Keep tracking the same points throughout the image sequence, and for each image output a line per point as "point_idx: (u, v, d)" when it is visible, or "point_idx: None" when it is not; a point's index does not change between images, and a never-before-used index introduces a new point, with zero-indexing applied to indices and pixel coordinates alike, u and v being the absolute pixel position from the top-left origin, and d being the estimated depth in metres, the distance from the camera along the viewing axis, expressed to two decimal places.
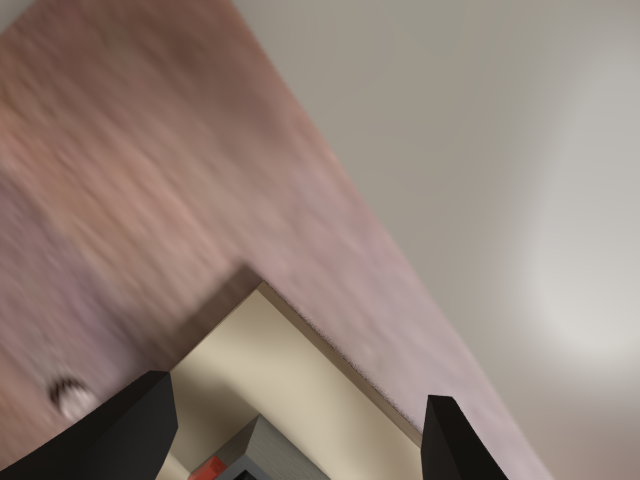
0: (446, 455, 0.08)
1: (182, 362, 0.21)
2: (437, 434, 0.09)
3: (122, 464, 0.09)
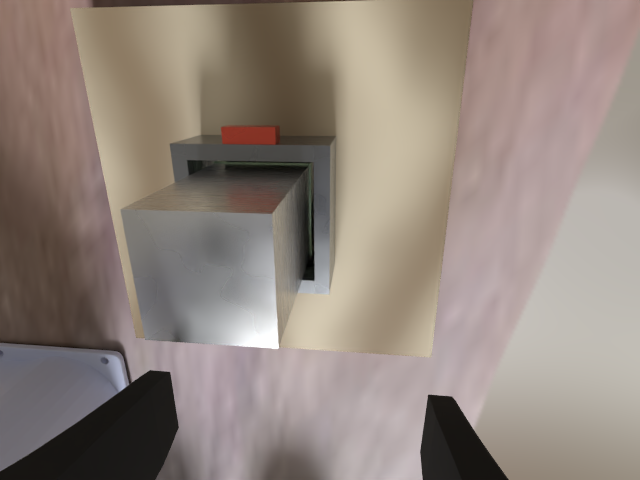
0: (446, 455, 0.08)
1: (311, 4, 0.15)
2: (437, 434, 0.09)
3: (122, 464, 0.09)
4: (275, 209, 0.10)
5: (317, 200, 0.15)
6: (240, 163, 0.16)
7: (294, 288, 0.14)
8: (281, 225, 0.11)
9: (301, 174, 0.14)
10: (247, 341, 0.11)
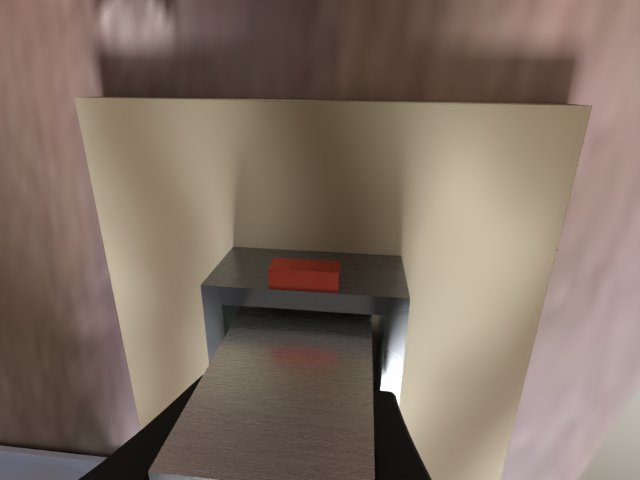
0: None
1: (381, 105, 0.12)
2: None
3: None
4: (374, 474, 0.07)
5: (388, 357, 0.12)
6: None
7: None
8: None
9: (370, 331, 0.11)
10: None
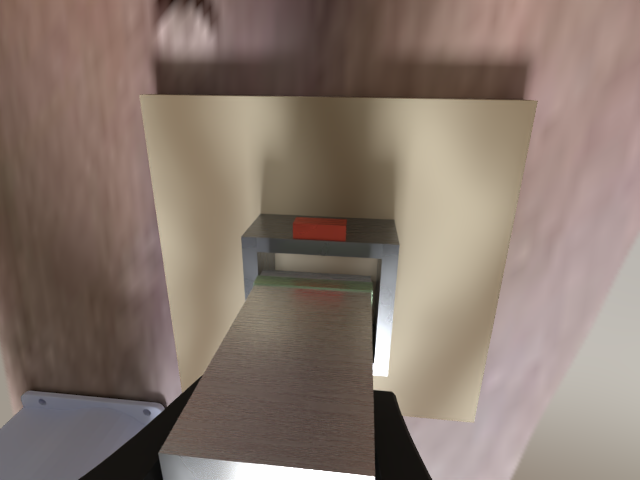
0: None
1: (378, 100, 0.16)
2: None
3: None
4: (374, 456, 0.07)
5: (383, 292, 0.15)
6: (286, 287, 0.13)
7: None
8: None
9: (371, 323, 0.11)
10: None
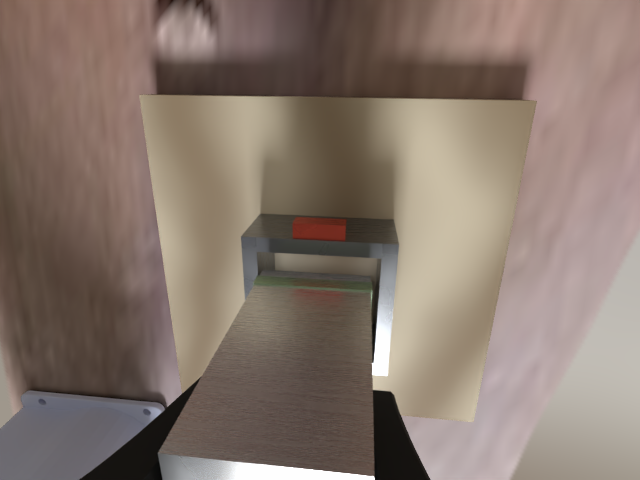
0: None
1: (378, 100, 0.16)
2: None
3: None
4: None
5: (382, 292, 0.15)
6: (286, 287, 0.13)
7: None
8: None
9: (370, 323, 0.11)
10: None
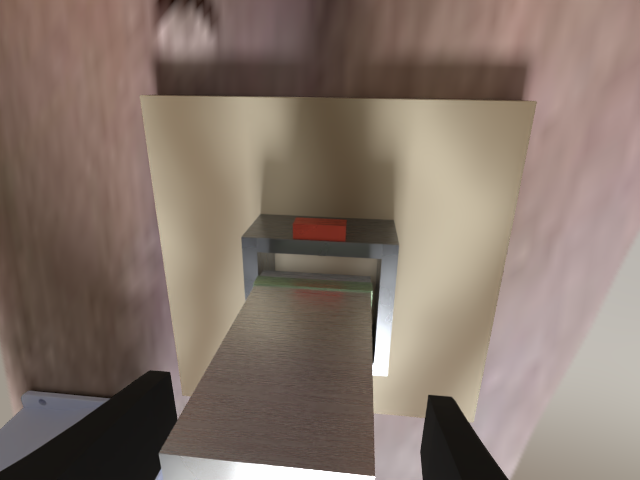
0: (446, 455, 0.08)
1: (378, 101, 0.16)
2: (437, 434, 0.09)
3: (122, 464, 0.09)
4: None
5: (382, 292, 0.15)
6: (286, 287, 0.13)
7: None
8: None
9: (370, 324, 0.12)
10: None
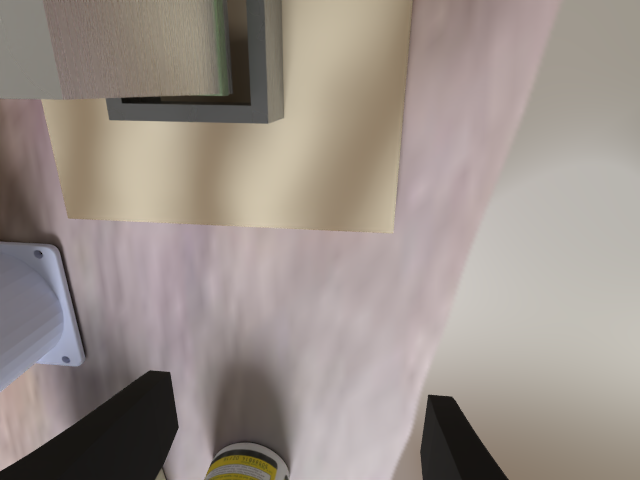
0: (446, 455, 0.08)
1: None
2: (437, 434, 0.09)
3: (122, 464, 0.09)
4: None
5: None
6: None
7: (152, 71, 0.08)
8: None
9: None
10: (3, 84, 0.06)
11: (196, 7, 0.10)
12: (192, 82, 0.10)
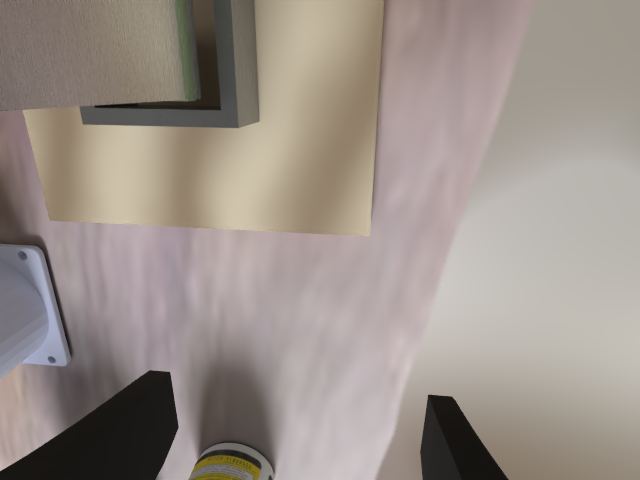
0: (446, 455, 0.08)
1: None
2: (437, 434, 0.09)
3: (122, 464, 0.09)
4: None
5: (217, 1, 0.13)
6: None
7: (101, 80, 0.08)
8: None
9: None
10: None
11: (154, 15, 0.10)
12: (150, 89, 0.10)
